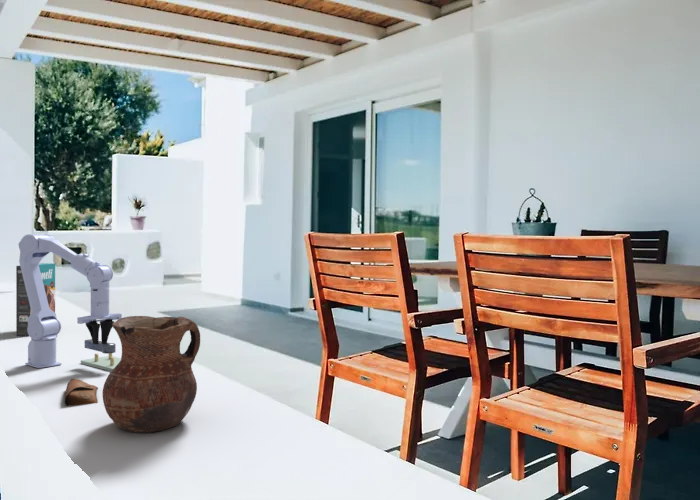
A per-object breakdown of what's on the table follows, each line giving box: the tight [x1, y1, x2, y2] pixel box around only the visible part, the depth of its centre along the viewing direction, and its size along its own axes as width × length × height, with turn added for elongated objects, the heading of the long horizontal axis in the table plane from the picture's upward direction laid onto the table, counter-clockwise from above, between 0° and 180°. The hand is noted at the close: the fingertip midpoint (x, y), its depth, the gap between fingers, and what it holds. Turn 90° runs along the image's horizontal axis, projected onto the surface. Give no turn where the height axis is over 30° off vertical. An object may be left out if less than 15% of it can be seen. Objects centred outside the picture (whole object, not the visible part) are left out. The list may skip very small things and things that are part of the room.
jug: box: [102, 315, 201, 434], centre depth 150 cm, size 22×21×25 cm
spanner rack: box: [80, 353, 121, 372], centre depth 214 cm, size 20×11×4 cm, turn 52°
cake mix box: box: [15, 262, 56, 337], centre depth 279 cm, size 22×6×30 cm, turn 179°
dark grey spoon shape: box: [84, 338, 117, 355], centre depth 208 cm, size 15×4×3 cm, turn 51°
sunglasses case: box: [64, 378, 99, 407], centre depth 173 cm, size 18×7×7 cm, turn 23°
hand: (99, 343), depth 208 cm, fingers closed on dark grey spoon shape, 2 cm apart
